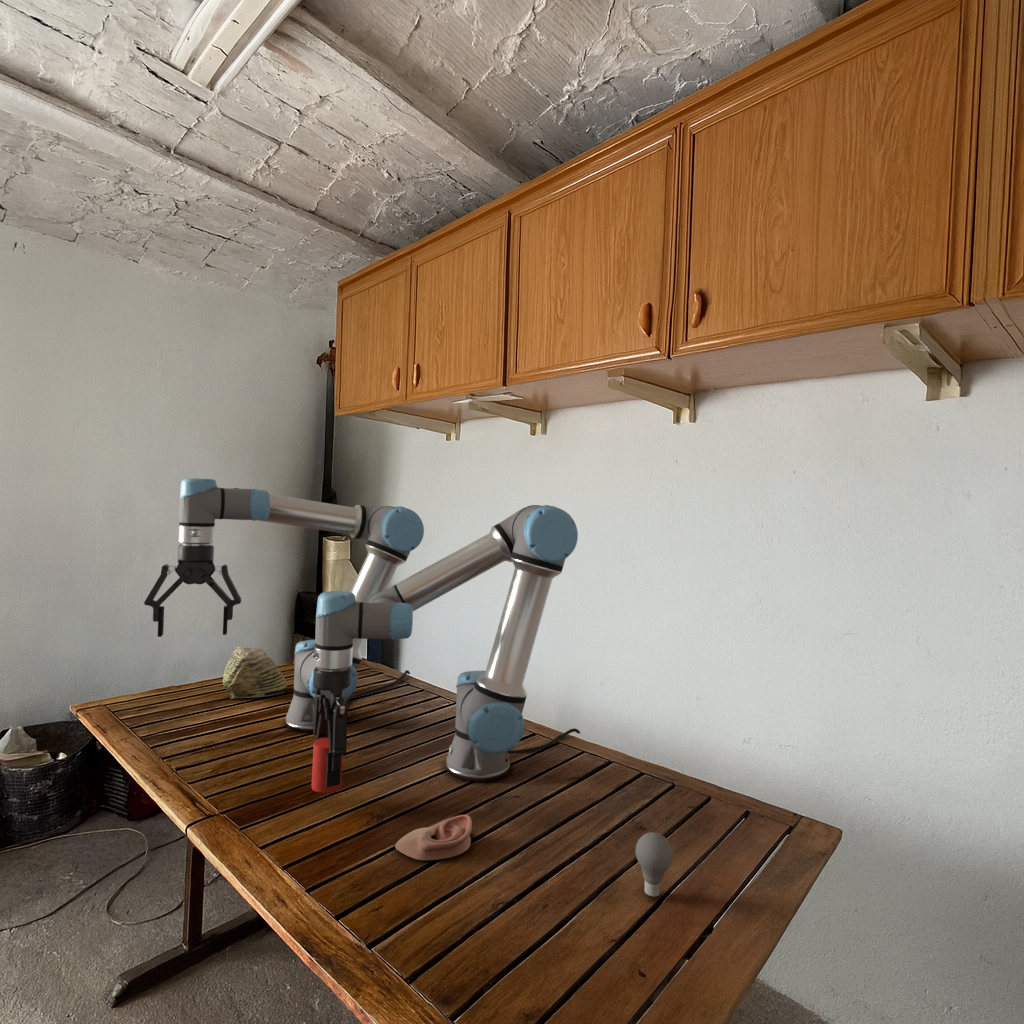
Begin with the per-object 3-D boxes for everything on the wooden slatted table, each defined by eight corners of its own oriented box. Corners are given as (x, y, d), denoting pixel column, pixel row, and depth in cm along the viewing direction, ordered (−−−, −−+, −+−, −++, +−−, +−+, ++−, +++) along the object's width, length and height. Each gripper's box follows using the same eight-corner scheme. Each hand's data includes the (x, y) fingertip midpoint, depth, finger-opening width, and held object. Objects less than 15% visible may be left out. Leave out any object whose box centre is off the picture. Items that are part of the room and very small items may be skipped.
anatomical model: (389, 833, 113) (412, 803, 124) (388, 855, 113) (411, 823, 124) (460, 844, 110) (477, 813, 121) (459, 867, 110) (476, 833, 121)
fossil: (218, 695, 195) (220, 647, 195) (278, 685, 208) (279, 640, 207) (228, 703, 189) (230, 653, 188) (289, 692, 201) (290, 645, 201)
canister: (323, 777, 134) (325, 734, 134) (346, 783, 132) (349, 739, 132) (305, 789, 129) (307, 744, 129) (329, 795, 127) (331, 749, 126)
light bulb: (629, 883, 108) (632, 825, 107) (663, 883, 108) (666, 825, 108) (639, 906, 102) (642, 844, 101) (675, 905, 102) (678, 844, 102)
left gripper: (131, 544, 140) (128, 640, 141) (253, 546, 149) (250, 636, 149) (138, 542, 147) (135, 632, 148) (254, 543, 156) (251, 629, 156)
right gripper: (300, 658, 136) (295, 765, 136) (330, 681, 120) (324, 802, 121) (335, 654, 140) (330, 758, 140) (367, 677, 124) (361, 793, 125)
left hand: (193, 634), depth 148 cm, fingers open, 13 cm apart
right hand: (327, 778), depth 130 cm, fingers closed on canister, 6 cm apart
